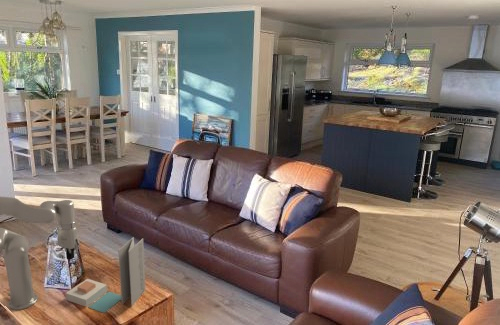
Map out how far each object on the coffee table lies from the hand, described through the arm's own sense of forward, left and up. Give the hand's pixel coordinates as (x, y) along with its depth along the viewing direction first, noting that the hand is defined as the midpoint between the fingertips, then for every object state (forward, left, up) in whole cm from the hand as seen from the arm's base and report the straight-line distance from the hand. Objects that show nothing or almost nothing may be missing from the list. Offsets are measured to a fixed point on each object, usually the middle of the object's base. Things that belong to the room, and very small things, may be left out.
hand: (70, 258), depth 190 cm
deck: (+9, 0, -19) cm, 21 cm away
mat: (+21, 0, -19) cm, 29 cm away
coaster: (+9, 0, -15) cm, 18 cm away
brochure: (+31, +9, -19) cm, 38 cm away
